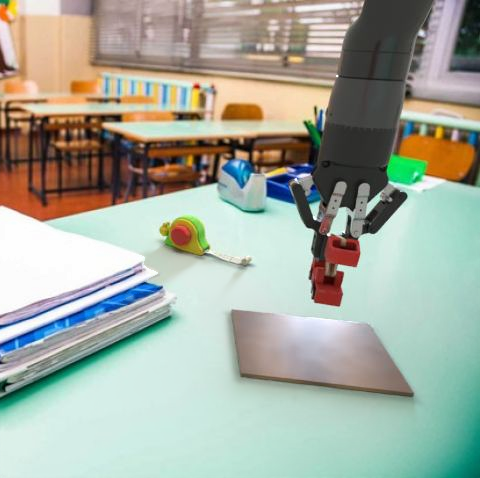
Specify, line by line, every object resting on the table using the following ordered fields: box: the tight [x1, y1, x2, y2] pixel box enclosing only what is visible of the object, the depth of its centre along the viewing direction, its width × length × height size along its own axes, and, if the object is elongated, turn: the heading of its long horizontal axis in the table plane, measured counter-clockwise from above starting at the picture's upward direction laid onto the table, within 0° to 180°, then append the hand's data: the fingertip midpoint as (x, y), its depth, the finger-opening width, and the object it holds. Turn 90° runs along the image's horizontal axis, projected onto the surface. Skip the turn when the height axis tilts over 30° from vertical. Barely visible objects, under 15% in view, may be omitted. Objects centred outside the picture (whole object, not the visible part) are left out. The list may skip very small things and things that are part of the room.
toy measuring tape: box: [159, 214, 253, 266], centre depth 95 cm, size 6×19×7 cm, turn 55°
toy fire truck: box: [307, 232, 362, 308], centre depth 62 cm, size 3×14×10 cm, turn 163°
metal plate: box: [230, 308, 415, 397], centre depth 66 cm, size 20×16×1 cm
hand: (330, 260), depth 62 cm, fingers closed on toy fire truck, 2 cm apart
